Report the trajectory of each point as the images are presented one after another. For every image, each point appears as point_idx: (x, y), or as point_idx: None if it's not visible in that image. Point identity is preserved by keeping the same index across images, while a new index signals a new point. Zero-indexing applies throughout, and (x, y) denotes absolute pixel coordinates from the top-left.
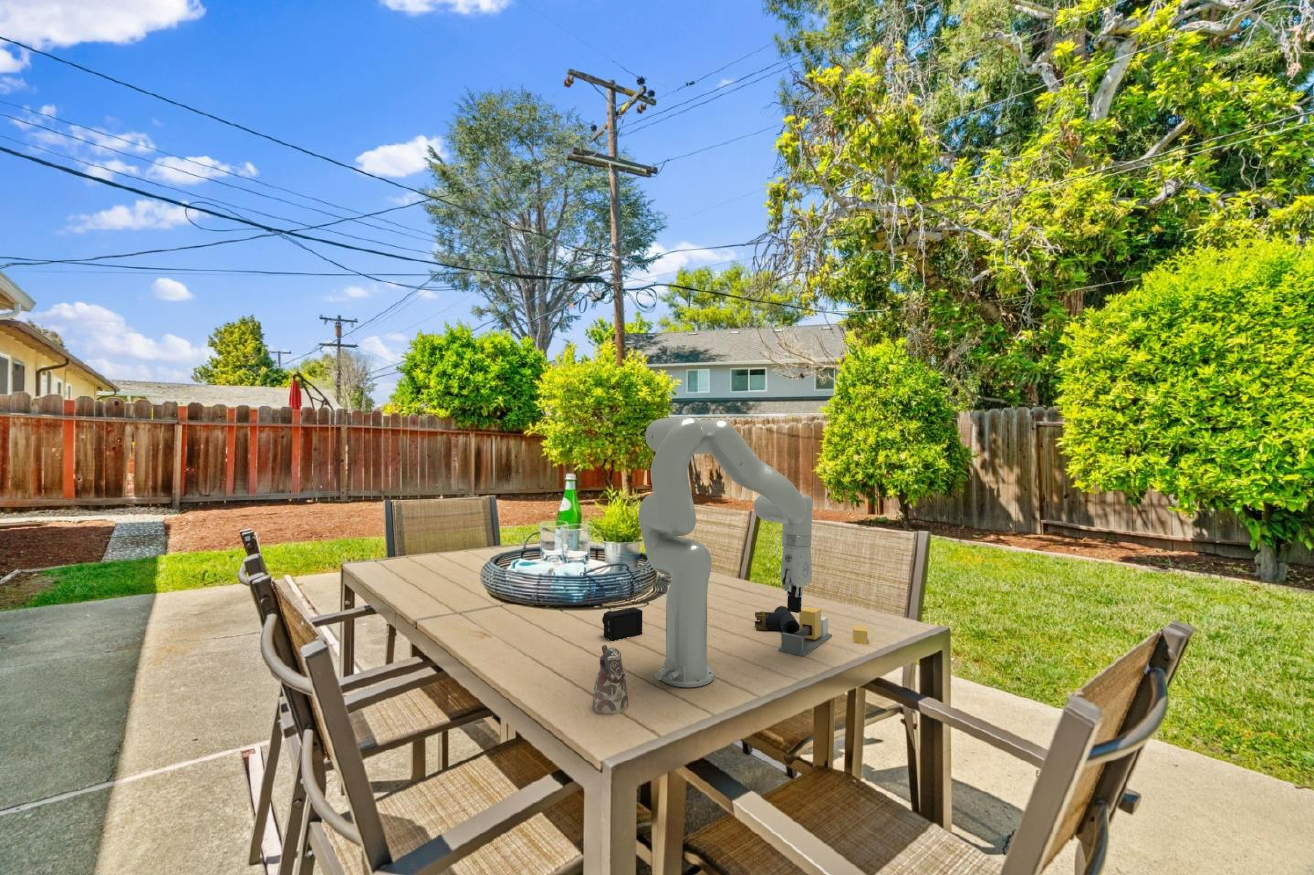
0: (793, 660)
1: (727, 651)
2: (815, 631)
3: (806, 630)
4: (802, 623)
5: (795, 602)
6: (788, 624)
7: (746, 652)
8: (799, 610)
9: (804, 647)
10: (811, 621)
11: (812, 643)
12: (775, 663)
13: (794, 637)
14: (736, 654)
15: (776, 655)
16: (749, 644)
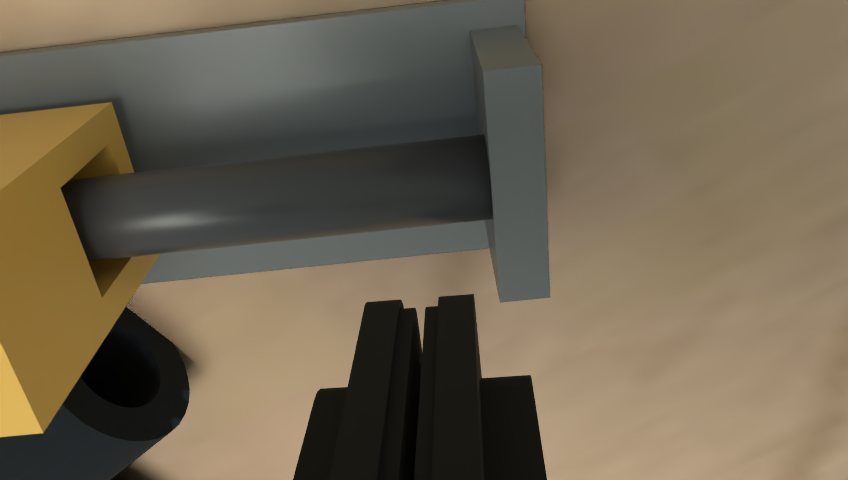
0: (675, 18)
1: (772, 464)
2: (59, 131)
3: (187, 187)
4: (99, 297)
5: (515, 457)
6: (127, 415)
7: (717, 377)
8: (440, 309)
9: (340, 92)
10: (39, 217)
11: (174, 94)
12: (838, 99)
13: (544, 149)
14: (798, 400)
15: (643, 192)
16: (541, 443)
